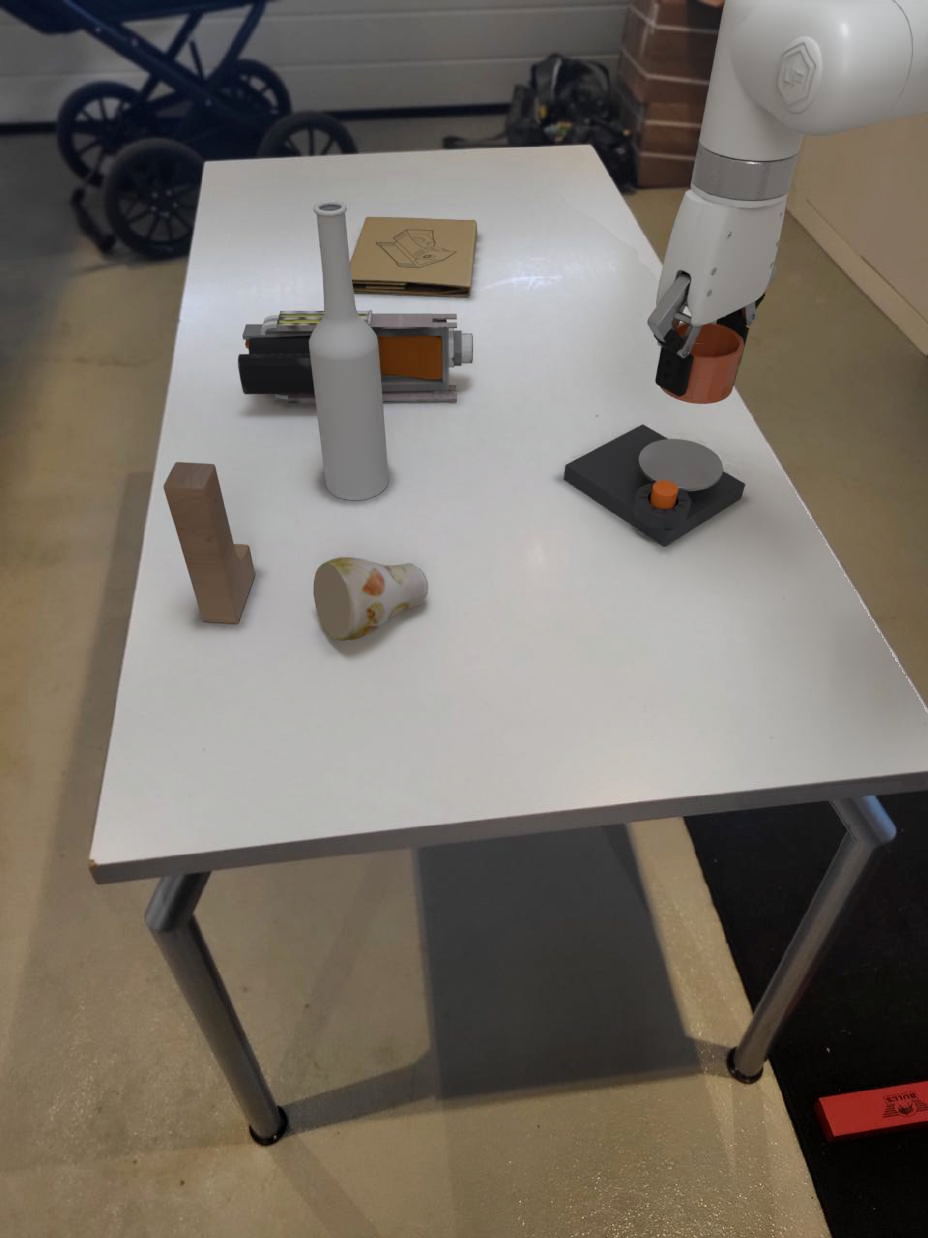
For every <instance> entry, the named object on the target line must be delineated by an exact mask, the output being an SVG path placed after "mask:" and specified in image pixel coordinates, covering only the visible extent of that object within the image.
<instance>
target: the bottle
mask: <svg viewBox="0 0 928 1238" xmlns="http://www.w3.org/2000/svg"><path fill="white" fill-rule="evenodd" d="M312 209H313V212H314V214H316V223H317V231H318V232H317V233H318V242H319V252H320V263H321V271H322V288H323V290H322V291H323V292H322V293H323V311H324V316H323V318H322V320H321V321H320V323H319V324H318V325H317V326H316V328H315V329H314V331H313V333H312V335H311V337H310V339H309V349H310V357H311V365H312V374H313V382H314V391H315V399H316V403H315V406H316V414H317V423H318V424H317V425H318V432H319V439H320V440H319V441H320V449H321V457H322V464H323V465H322V466H323V473H324V481H325V487H326V489H327V491H328V492H329V493H330V494H331V495H333V496H334V497H337V498H338V499H342V500H347V501H363V500H368V499H371V498H373V497H376V496H378V495H380V494H381V493H382V492H384V490H386V488H387V487H388V484H389V468H388V451H387V437H386V427H385V414H384V413H385V412H384V401H383V399H382V386H381V373H380V361H379V348H378V340H377V335H376V334H375V332H374V331H373V329H372V328H371V327H370V326H369V325H368V324H367V323H366V322H365V321H364V320H363V319H362V318H361V317H360V316H359V315H358V313H357V311H358V310H357V305H356V298H355V293H354V291H353V285H352V278H351V270H350V261H351V259H350V250H349V239H348V230H347V229H348V228H347V219H346V212H347V210H348V205H346V203H345V202H343V201H340V200H336V199H327V200H321V201H318V202H317V203H315V204H314V205H313V207H312Z"/></svg>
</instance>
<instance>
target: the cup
mask: <svg viewBox="0 0 928 1238" xmlns="http://www.w3.org/2000/svg"><path fill="white" fill-rule="evenodd" d="M688 327H689V325H688V324H686V323H684V322H680V323H679V325H678V327H677V329H676V331H677V332H678V333H679V335H680V336H681V337H682V339H683V337H684V335H685V333H686V331H687V329H688ZM743 349H744V350H745V347H744V342H743V338H742V337H741V336H740V335H739V334H738V333H737V332H736V331H734V330H732V329H730V328H728V327H726V326H724V325H720V324H716V322H710V323H708V324H705V325H703V326H702V328H701V331H700V333H699V335H698V337H697V339H696V341H695V343H694V345H693V347H692V349H691V351H690V354H692V355H694V359H693V364H692V368H691V373H690V378H689V382H688V387H687V391H686V394H685V395H683V396H681V397H679V396H677V395H675V394H673V393H671V392H669V391H667V390H666V389H664V388H662V387H660V389H661V390H662V391H663V393H665V394H666V395H668V396H669V397H671V398H673V399H675V400H677V401H681V402H685V403H689V404H696V405H709V404H715V403H719V402H721V401H724V400H726V399H728V397H729V396H730V395H731V394H732V392H733V390H734V389H733V388H734V386H735V384H736V380H737V376H738V372H739V369H740V366H741V363H740V361H741V362H742V359H741V357H742V358H743V355H742V353H743V354H744V351H743ZM739 365H740V366H739Z"/></svg>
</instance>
